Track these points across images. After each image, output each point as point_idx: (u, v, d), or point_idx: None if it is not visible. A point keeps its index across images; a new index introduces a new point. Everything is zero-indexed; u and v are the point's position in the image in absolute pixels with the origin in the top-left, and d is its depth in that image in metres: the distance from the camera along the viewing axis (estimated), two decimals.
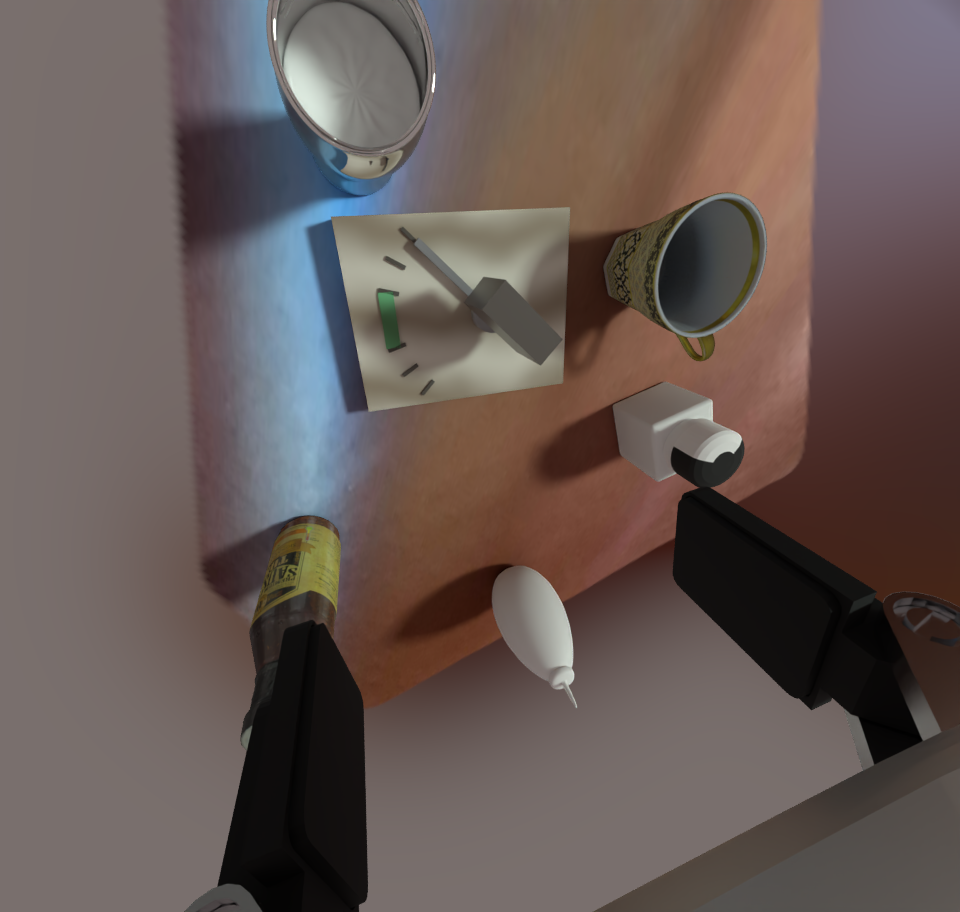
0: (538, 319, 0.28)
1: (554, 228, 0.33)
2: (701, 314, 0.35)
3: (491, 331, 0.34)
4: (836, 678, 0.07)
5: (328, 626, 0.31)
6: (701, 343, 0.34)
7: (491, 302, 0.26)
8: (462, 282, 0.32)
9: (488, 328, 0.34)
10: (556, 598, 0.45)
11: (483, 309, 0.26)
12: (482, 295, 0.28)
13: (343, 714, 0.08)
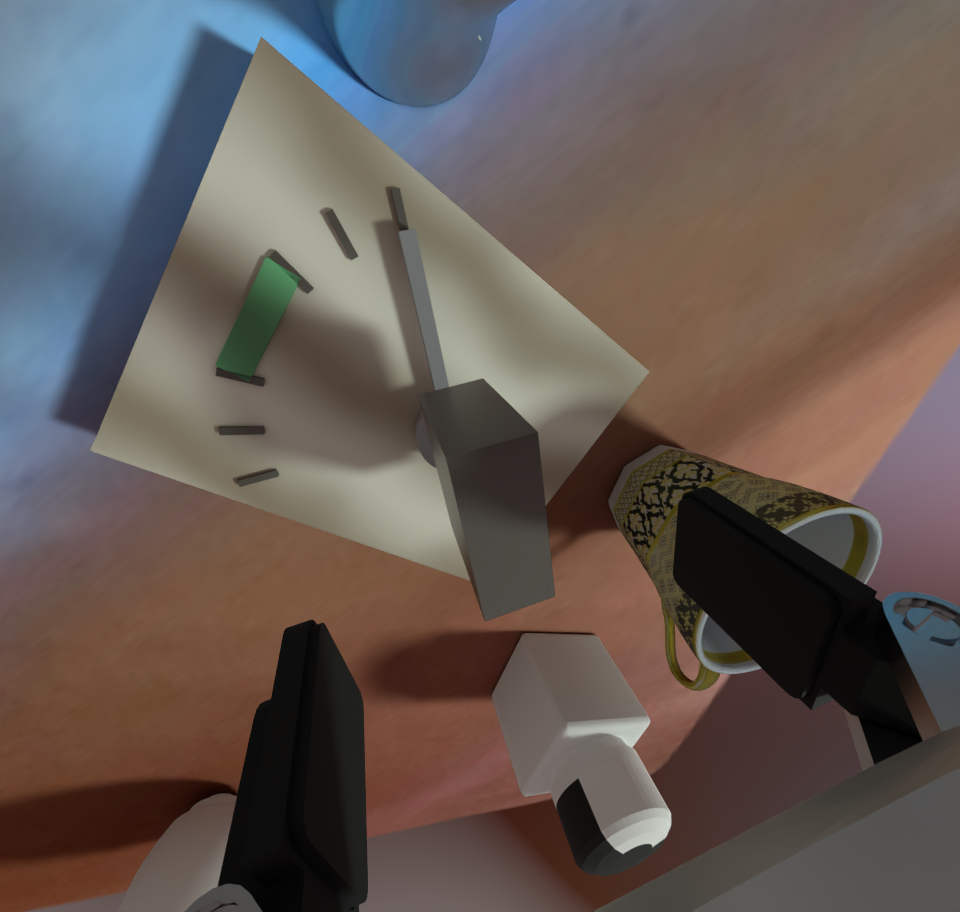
0: (541, 541, 0.12)
1: (614, 382, 0.20)
2: None
3: (433, 463, 0.18)
4: (836, 678, 0.07)
5: None
6: (703, 670, 0.21)
7: (476, 457, 0.10)
8: (439, 357, 0.16)
9: (431, 456, 0.17)
10: None
11: (449, 459, 0.10)
12: (464, 417, 0.12)
13: (343, 714, 0.08)
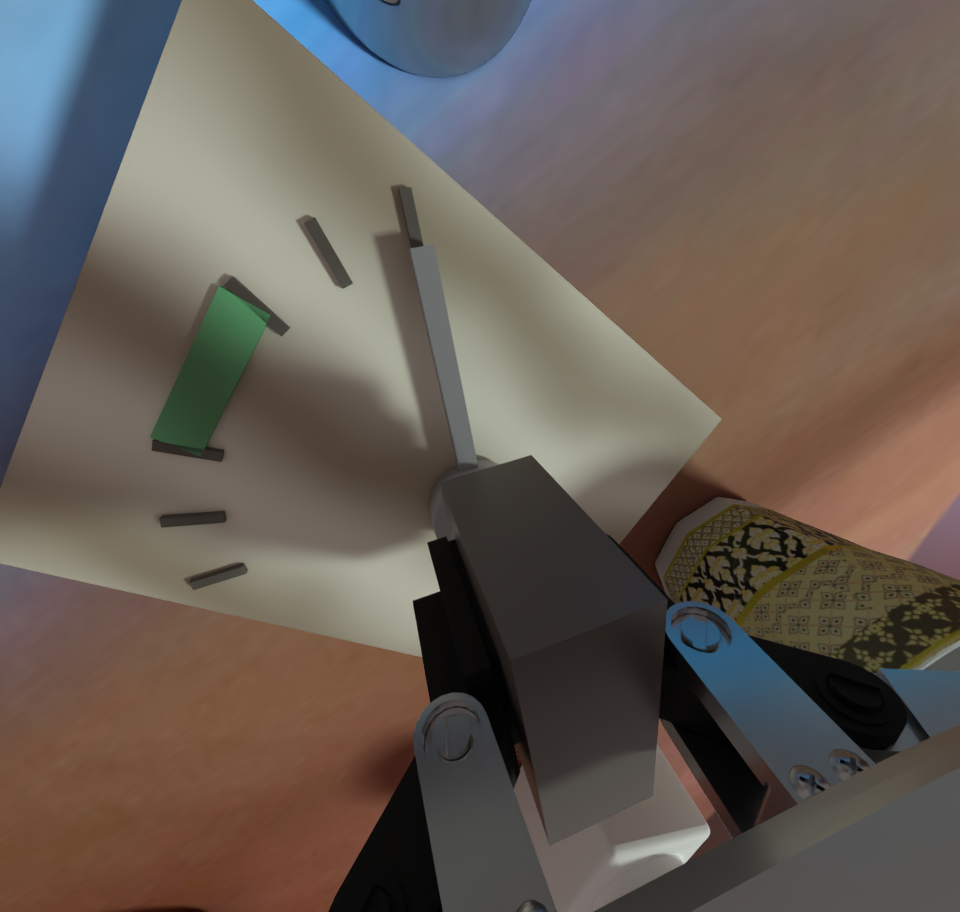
0: (645, 739, 0.07)
1: (678, 434, 0.16)
2: None
3: None
4: None
5: None
6: None
7: (563, 650, 0.06)
8: (463, 416, 0.12)
9: None
10: None
11: (516, 660, 0.05)
12: (521, 543, 0.07)
13: None
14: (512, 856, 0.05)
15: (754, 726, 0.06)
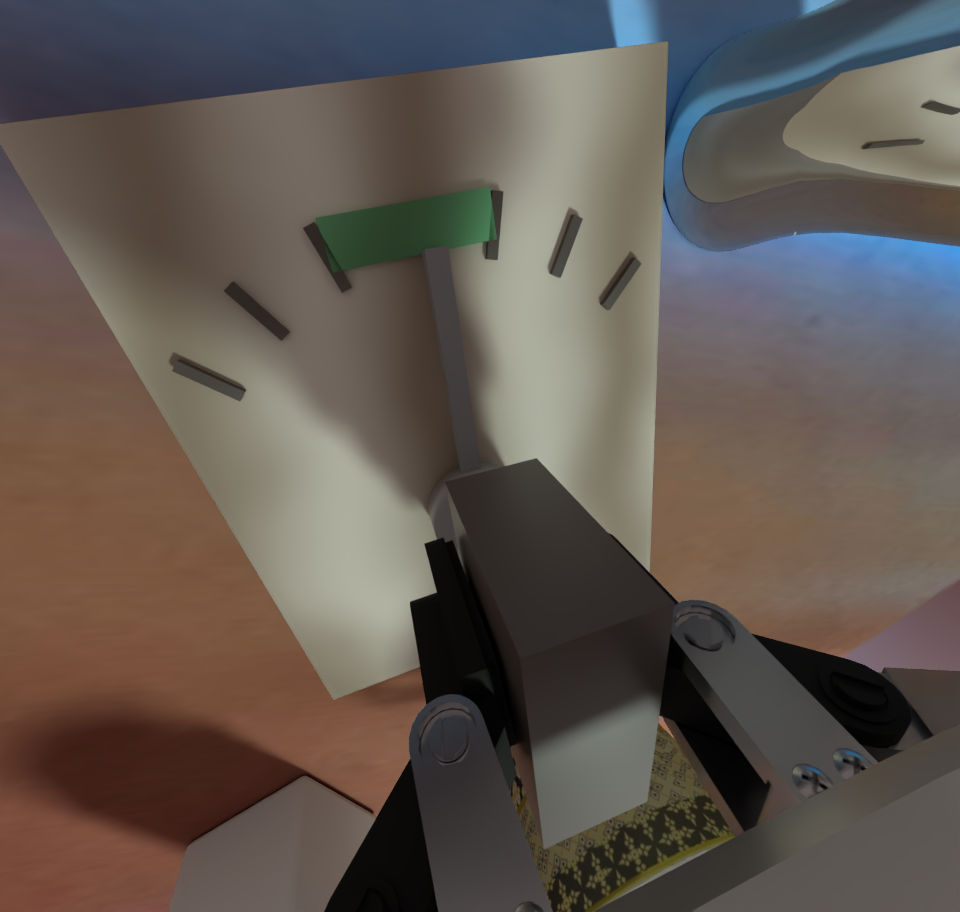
0: (644, 743, 0.07)
1: None
2: None
3: None
4: None
5: None
6: None
7: (571, 650, 0.06)
8: (468, 417, 0.12)
9: None
10: None
11: (526, 658, 0.05)
12: (528, 544, 0.07)
13: None
14: (508, 858, 0.05)
15: (759, 724, 0.06)
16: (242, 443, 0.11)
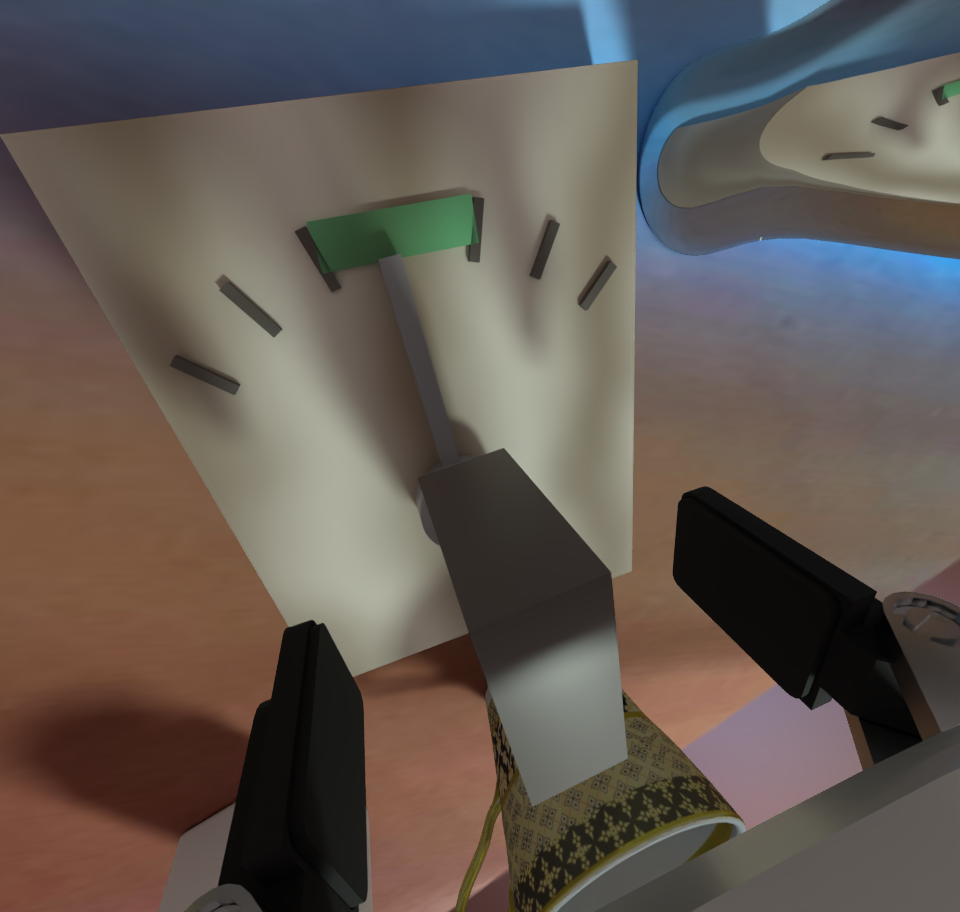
0: (611, 704, 0.08)
1: (604, 560, 0.19)
2: None
3: None
4: (836, 678, 0.07)
5: None
6: None
7: (517, 621, 0.06)
8: (442, 414, 0.13)
9: None
10: None
11: (474, 632, 0.06)
12: (487, 530, 0.08)
13: (343, 714, 0.08)
14: None
15: None
16: (236, 435, 0.12)
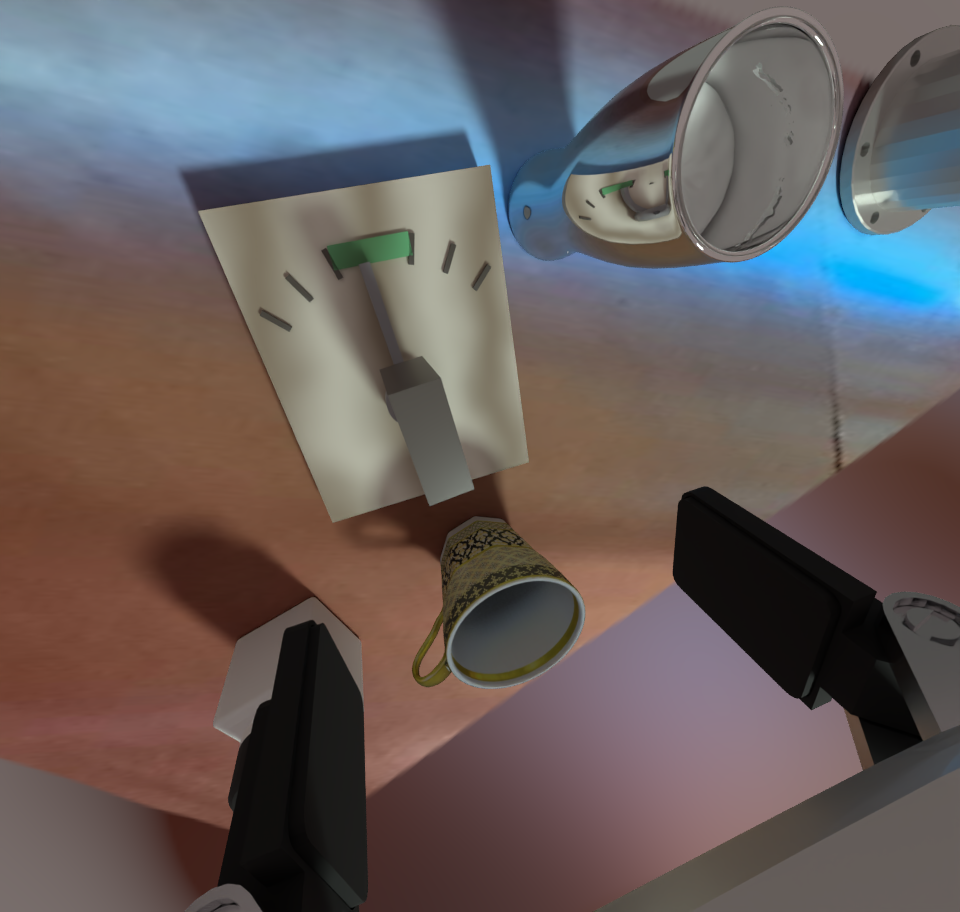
0: (457, 449, 0.19)
1: (508, 452, 0.30)
2: (463, 647, 0.29)
3: None
4: (836, 678, 0.07)
5: None
6: (437, 668, 0.27)
7: (406, 394, 0.17)
8: (395, 346, 0.24)
9: None
10: None
11: (390, 396, 0.17)
12: (403, 376, 0.19)
13: (343, 714, 0.08)
14: None
15: None
16: (288, 354, 0.23)
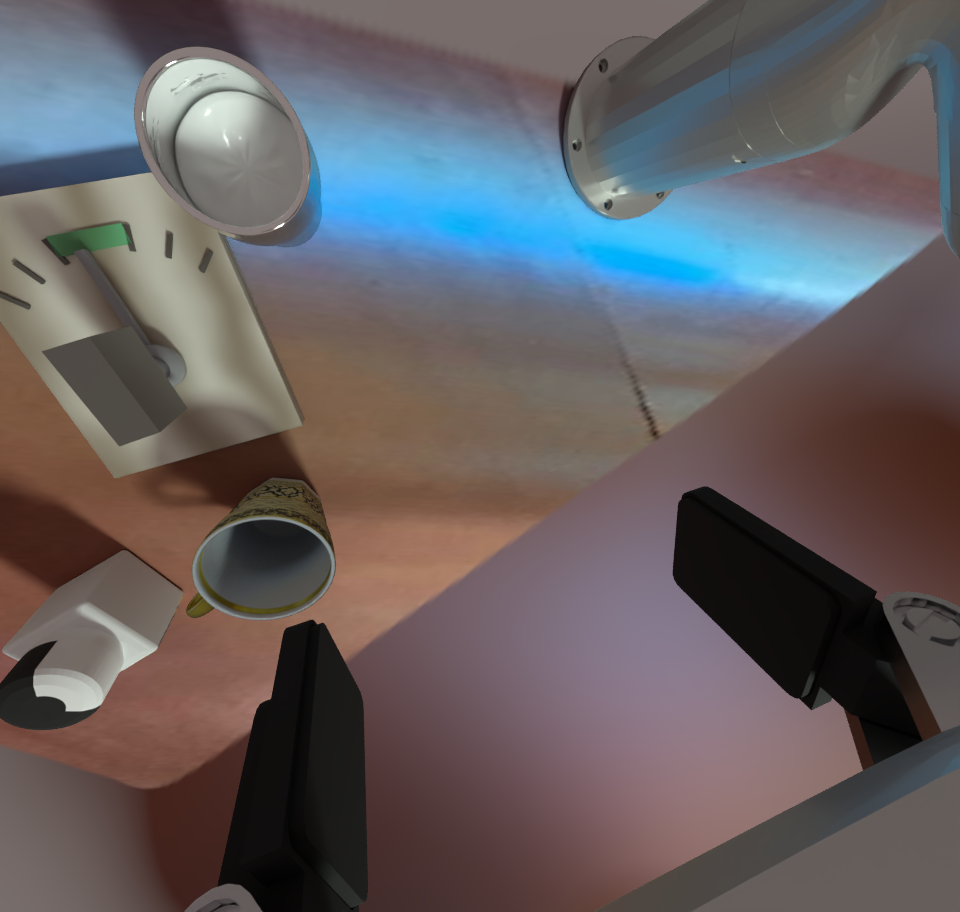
0: (128, 397, 0.23)
1: (278, 416, 0.34)
2: (239, 586, 0.34)
3: None
4: (836, 678, 0.07)
5: None
6: (200, 601, 0.31)
7: (59, 350, 0.22)
8: (129, 320, 0.28)
9: None
10: None
11: (44, 352, 0.21)
12: None
13: (343, 714, 0.08)
14: None
15: None
16: (34, 329, 0.27)
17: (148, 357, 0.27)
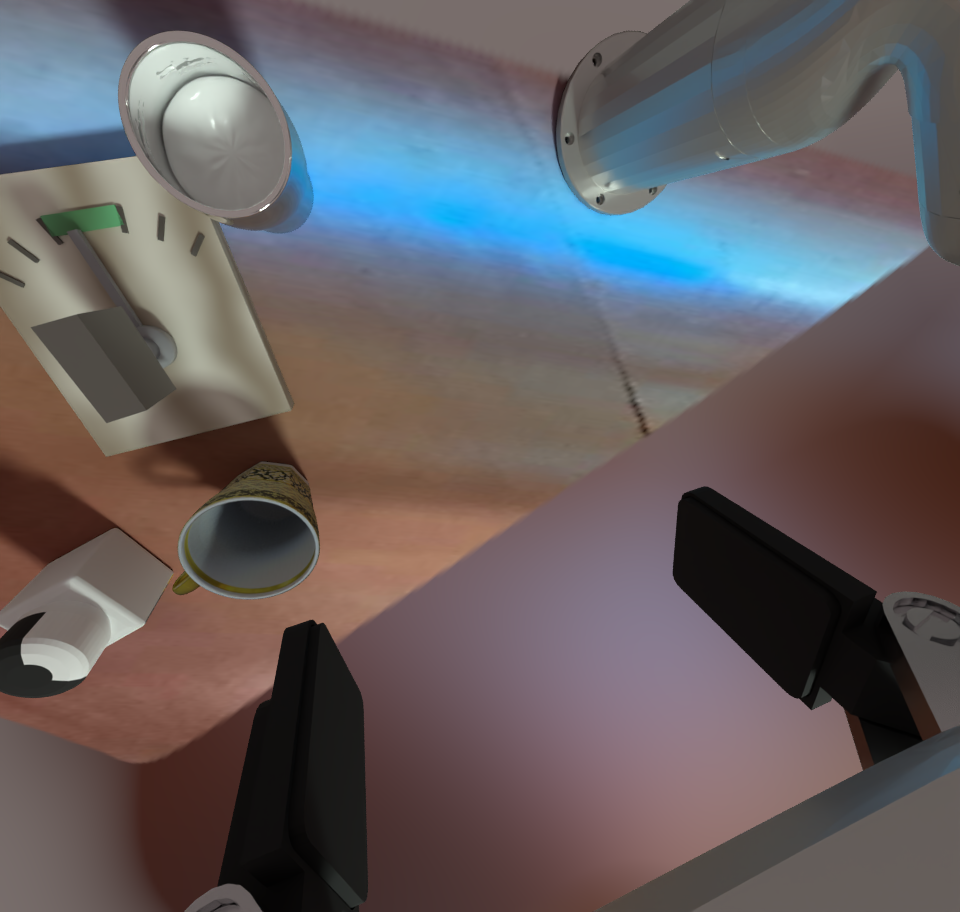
0: (115, 375, 0.24)
1: (268, 400, 0.35)
2: (225, 566, 0.34)
3: None
4: (836, 678, 0.07)
5: None
6: (186, 578, 0.32)
7: (47, 327, 0.22)
8: (121, 301, 0.29)
9: None
10: None
11: (33, 328, 0.22)
12: None
13: (343, 714, 0.08)
14: None
15: None
16: (27, 307, 0.28)
17: (138, 337, 0.27)
